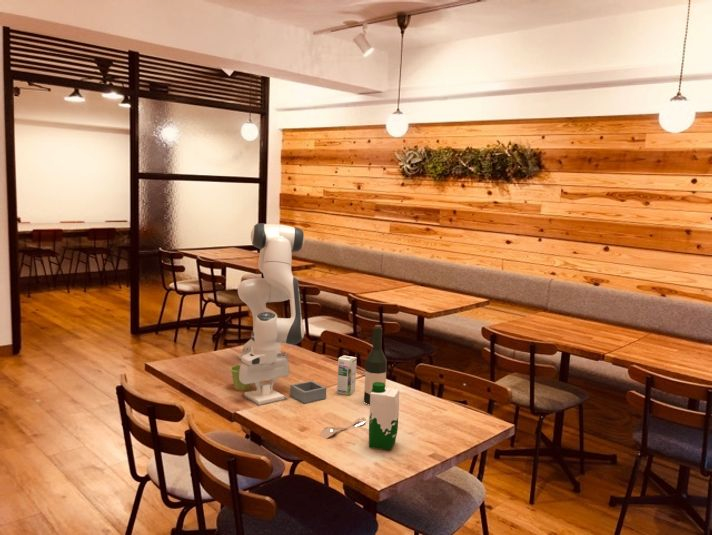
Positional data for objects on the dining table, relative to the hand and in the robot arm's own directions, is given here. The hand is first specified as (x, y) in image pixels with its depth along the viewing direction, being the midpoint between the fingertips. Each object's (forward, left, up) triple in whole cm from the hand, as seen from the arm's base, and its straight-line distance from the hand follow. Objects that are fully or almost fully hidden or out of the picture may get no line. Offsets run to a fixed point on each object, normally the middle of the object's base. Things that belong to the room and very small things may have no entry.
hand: (264, 390), depth 230 cm
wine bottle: (+25, +34, -3) cm, 42 cm away
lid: (0, 0, -2) cm, 2 cm away
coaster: (0, 0, -3) cm, 3 cm away
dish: (+9, +14, -3) cm, 17 cm away
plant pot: (-14, -2, -3) cm, 15 cm away
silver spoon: (+40, +8, -4) cm, 41 cm away
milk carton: (+56, +11, -3) cm, 57 cm away
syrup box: (+11, +31, -3) cm, 33 cm away
